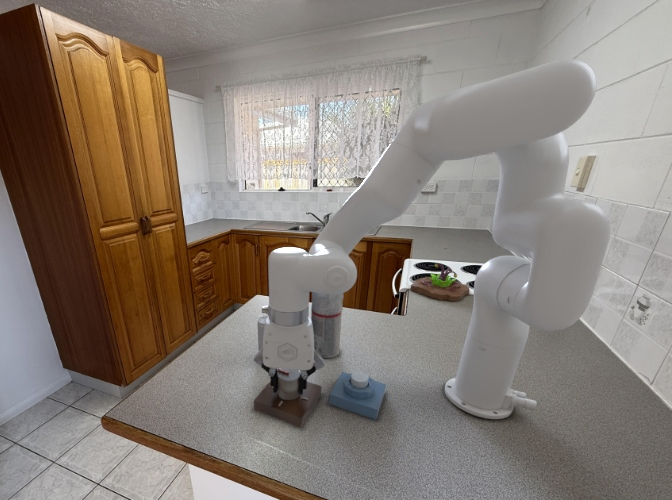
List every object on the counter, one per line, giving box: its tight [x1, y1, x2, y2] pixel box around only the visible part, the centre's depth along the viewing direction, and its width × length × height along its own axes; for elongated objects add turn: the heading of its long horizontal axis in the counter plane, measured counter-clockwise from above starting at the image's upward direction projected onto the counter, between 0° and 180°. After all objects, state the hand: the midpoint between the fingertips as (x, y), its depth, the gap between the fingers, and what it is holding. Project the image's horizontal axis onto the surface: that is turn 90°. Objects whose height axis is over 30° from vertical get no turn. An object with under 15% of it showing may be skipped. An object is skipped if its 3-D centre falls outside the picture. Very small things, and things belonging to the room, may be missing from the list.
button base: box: [328, 371, 387, 421], centre depth 68 cm, size 10×9×4 cm
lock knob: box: [277, 369, 301, 400], centre depth 66 cm, size 5×5×5 cm
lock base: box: [253, 381, 323, 429], centre depth 68 cm, size 11×11×3 cm
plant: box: [410, 263, 471, 302], centre depth 124 cm, size 20×20×11 cm
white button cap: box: [350, 371, 369, 389], centre depth 67 cm, size 4×4×2 cm
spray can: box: [310, 292, 345, 359], centre depth 83 cm, size 8×8×20 cm
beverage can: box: [256, 315, 268, 352], centre depth 81 cm, size 5×5×12 cm
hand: (288, 388), depth 67 cm, fingers closed on lock knob, 4 cm apart
